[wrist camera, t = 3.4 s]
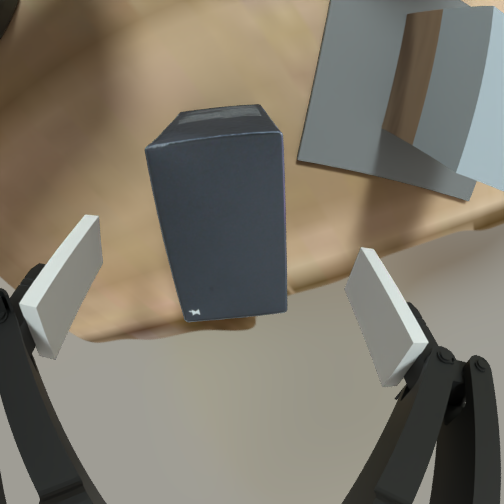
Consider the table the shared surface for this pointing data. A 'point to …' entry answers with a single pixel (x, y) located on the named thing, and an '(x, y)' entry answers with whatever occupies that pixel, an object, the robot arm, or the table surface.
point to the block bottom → (412, 74)
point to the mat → (368, 97)
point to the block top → (467, 96)
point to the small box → (223, 211)
